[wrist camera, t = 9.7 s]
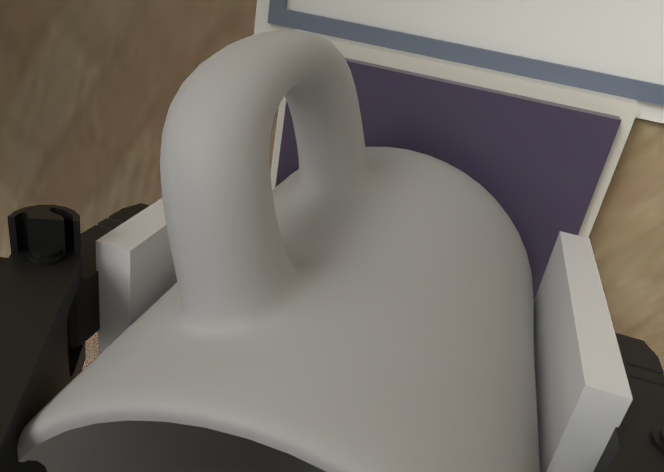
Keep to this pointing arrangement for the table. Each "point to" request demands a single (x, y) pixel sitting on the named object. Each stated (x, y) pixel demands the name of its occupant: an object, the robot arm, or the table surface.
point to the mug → (309, 299)
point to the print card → (505, 37)
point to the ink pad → (488, 136)
